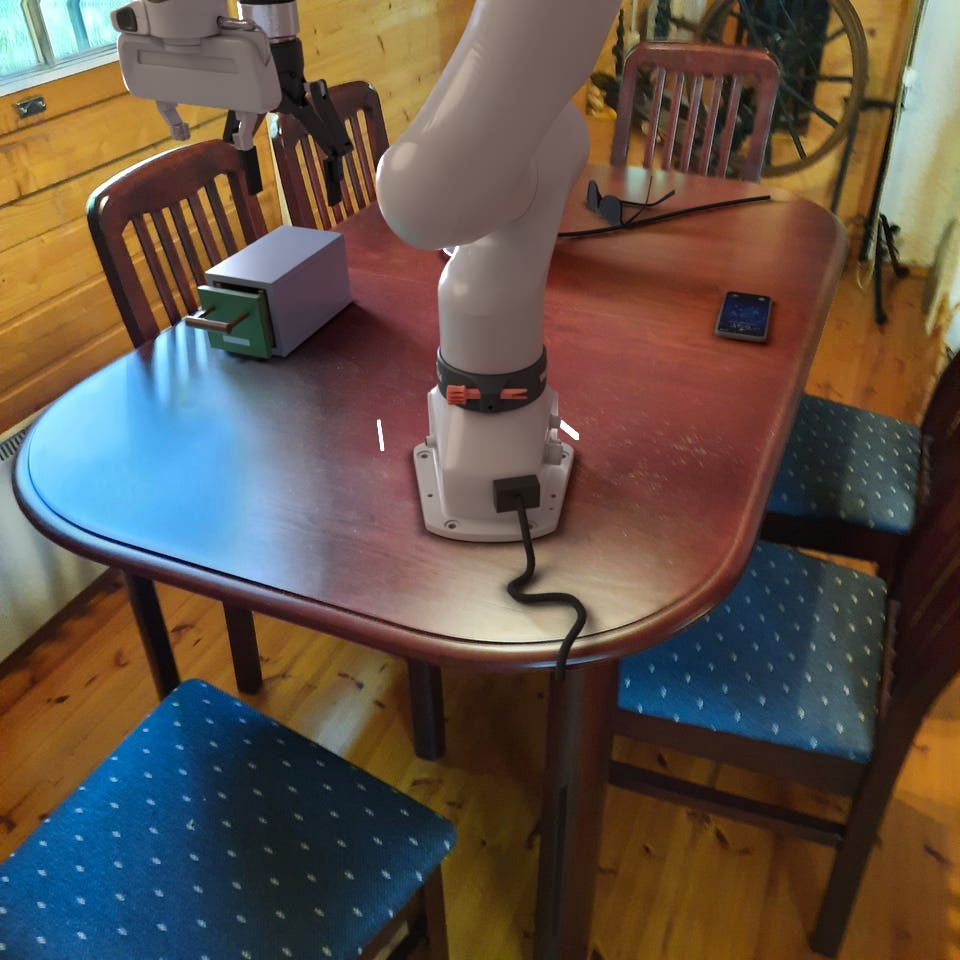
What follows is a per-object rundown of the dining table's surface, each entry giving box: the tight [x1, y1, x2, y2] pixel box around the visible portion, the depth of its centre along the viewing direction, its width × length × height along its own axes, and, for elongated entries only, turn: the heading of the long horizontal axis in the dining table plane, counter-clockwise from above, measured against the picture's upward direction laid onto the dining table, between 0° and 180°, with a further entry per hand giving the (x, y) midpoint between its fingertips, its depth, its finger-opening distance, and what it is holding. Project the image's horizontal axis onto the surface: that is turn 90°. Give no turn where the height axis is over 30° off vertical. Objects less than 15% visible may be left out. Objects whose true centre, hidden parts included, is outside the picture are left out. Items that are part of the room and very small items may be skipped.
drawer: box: [184, 282, 276, 359], centre depth 123 cm, size 24×10×9 cm, turn 157°
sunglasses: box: [585, 175, 676, 226], centre depth 165 cm, size 17×14×5 cm
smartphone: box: [714, 290, 774, 343], centre depth 128 cm, size 7×1×15 cm
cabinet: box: [204, 224, 353, 358], centre depth 127 cm, size 20×11×11 cm, turn 157°
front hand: (212, 144), depth 102 cm, fingers open, 8 cm apart
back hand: (294, 198), depth 126 cm, fingers open, 13 cm apart
